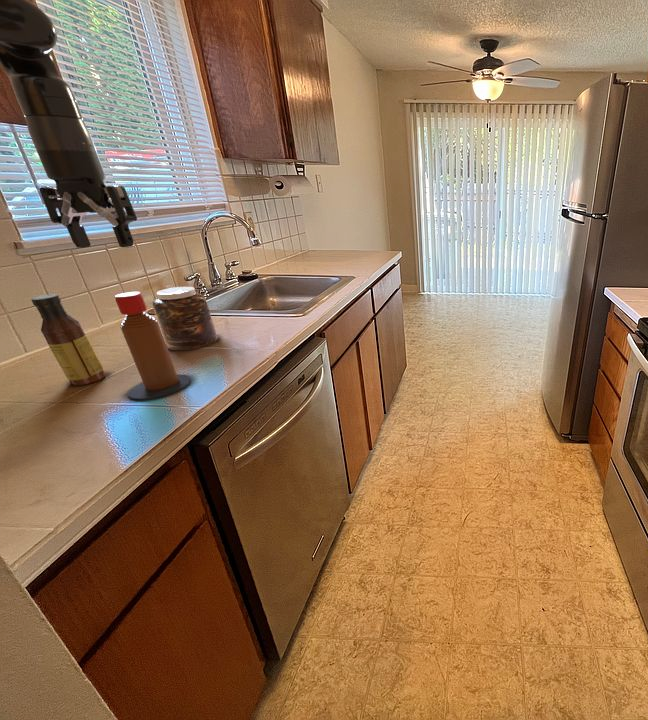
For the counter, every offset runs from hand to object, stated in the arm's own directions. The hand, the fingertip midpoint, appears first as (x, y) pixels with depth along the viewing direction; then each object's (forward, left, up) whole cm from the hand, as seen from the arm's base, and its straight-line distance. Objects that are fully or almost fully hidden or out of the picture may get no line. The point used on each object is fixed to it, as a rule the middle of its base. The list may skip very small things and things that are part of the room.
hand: (105, 247), depth 74 cm
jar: (-12, +26, -30) cm, 42 cm away
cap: (0, +1, -13) cm, 13 cm away
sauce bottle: (-20, +3, -30) cm, 36 cm away
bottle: (0, +1, -30) cm, 30 cm away
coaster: (0, 0, -30) cm, 30 cm away
